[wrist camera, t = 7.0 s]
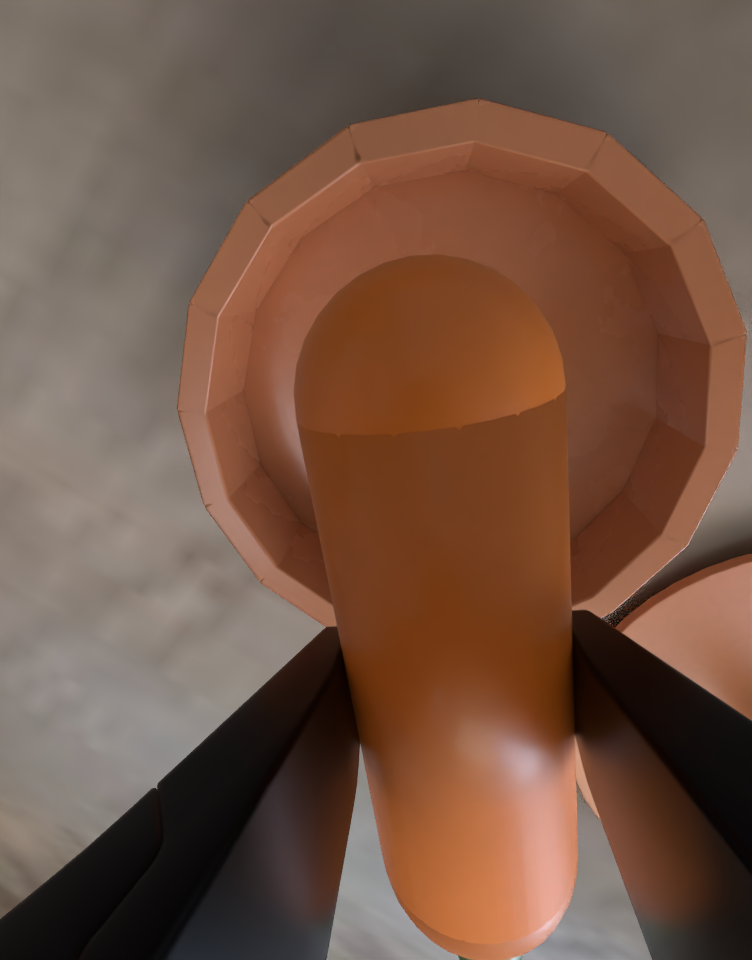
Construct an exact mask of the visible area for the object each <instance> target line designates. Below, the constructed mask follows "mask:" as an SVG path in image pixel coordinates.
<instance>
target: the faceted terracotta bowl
mask: <svg viewBox="0 0 752 960" xmlns="http://www.w3.org/2000/svg"><path fill="white" fill-rule="evenodd" d="M701 219H702V218H701V216H699V215H698V214H697V213H696V212H695V211H694V210H693V209H692V208H691V207H690V206H688V205H687V204H686V203H685V202H684V201H683V200H682V199H681V198H680V197H678V196H677V195H676V194H675V193H674V192H673V191H672V190H671V189H670V188H668V187H667V186H666V185H665V184H664V183H663V182H662V181H661V180H660V179H658V178H657V177H656V176H655V175H654V174H653V173H652V172H651V171H650V170H648V169H647V168H646V167H645V166H644V165H643V164H642V163H641V162H640V161H639V160H637V159H636V158H635V157H634V156H633V155H632V154H631V153H630V152H629V151H627V150H626V149H625V148H624V147H623V146H622V145H621V144H620V143H619V142H617V141H616V140H615V139H614V138H613V137H612V136H611V135H610V134H606V132H605V131H602V130H598V129H594V128H591V127H587V126H583V125H579V124H575V123H572V122H568V121H564V120H560V119H556V118H553V117H549V116H545V115H541V114H538V113H534V112H530V111H526V110H522V109H519V108H515V107H511V106H507V105H503V104H500V103H496V102H492V101H488V100H485V99H476V98H475V99H470V100H465V101H461V102H456V103H451V104H446V105H441V106H436V107H431V108H426V109H422V110H417V111H412V112H407V113H402V114H397V115H392V116H387V117H383V118H378V119H373V120H368V121H363V122H358V123H353V124H350V125H349V127H345V128H344V129H342V130H341V131H340V132H338V133H337V134H336V135H334V136H333V137H332V138H330V139H329V140H328V141H326V142H325V143H323V144H322V145H321V146H319V147H318V148H317V149H315V150H314V151H313V152H311V153H310V154H309V155H307V156H306V157H305V158H303V159H302V160H301V161H299V162H298V163H297V164H295V165H294V166H293V167H291V168H290V169H289V170H287V171H286V172H285V173H283V174H282V175H281V176H279V177H278V178H277V179H275V180H274V181H272V182H271V183H270V184H268V185H267V186H266V187H264V188H263V189H262V190H260V191H259V192H258V193H256V194H255V195H254V196H252V197H251V198H250V199H249V201H248V202H245V204H244V206H243V207H242V209H241V211H240V213H239V215H238V216H237V218H236V220H235V222H234V223H233V225H232V227H231V229H230V231H229V232H228V234H227V236H226V238H225V239H224V241H223V243H222V245H221V247H220V248H219V250H218V252H217V254H216V255H215V257H214V259H213V261H212V263H211V264H210V266H209V268H208V270H207V271H206V273H205V275H204V277H203V279H202V280H201V282H200V284H199V286H198V287H197V289H196V291H195V293H194V295H193V296H192V298H191V300H190V304H189V306H188V315H187V324H186V333H185V342H184V351H183V360H182V369H181V378H180V387H179V396H178V405H177V410H178V414H179V418H180V422H181V425H182V429H183V432H184V436H185V440H186V443H187V447H188V450H189V454H190V458H191V461H192V465H193V468H194V472H195V476H196V479H197V483H198V486H199V490H200V494H201V497H202V501H203V504H204V505H206V506H205V508H206V510H207V511H208V512H209V514H210V515H211V516H212V518H213V519H214V520H215V522H216V523H217V524H218V526H219V527H220V529H221V530H222V531H223V533H224V534H225V535H226V537H227V538H228V539H229V541H230V542H231V544H232V545H233V546H234V548H235V549H236V550H237V552H238V553H239V554H240V556H241V557H242V558H243V560H244V561H245V563H246V564H247V565H248V567H249V568H250V569H251V571H252V572H253V573H254V575H255V576H256V577H257V579H258V580H259V581H261V582H260V583H261V584H263V585H264V586H266V587H267V588H269V589H270V590H272V591H273V592H275V593H276V594H278V595H279V596H281V597H282V598H284V599H285V600H287V601H288V602H290V603H291V604H293V605H294V606H296V607H297V608H298V609H300V610H301V611H303V612H304V613H306V614H307V615H309V616H310V617H312V618H313V619H315V620H316V621H318V622H319V623H321V624H322V625H324V626H325V627H330V626H337V623H336V618H335V613H334V608H333V603H332V598H331V593H330V588H329V583H328V578H327V573H326V568H325V563H324V558H323V553H322V548H321V543H320V538H319V533H318V528H317V523H316V518H315V513H314V508H313V503H312V498H311V493H310V488H309V483H308V478H307V473H306V468H305V463H304V458H303V453H302V448H301V443H300V437H299V432H298V427H297V422H296V412H295V402H294V383H295V374H296V365H297V362H298V359H299V355H300V352H301V349H302V346H303V342H304V339H305V337H306V336H307V334H308V332H309V330H310V328H311V326H312V325H313V323H314V321H315V319H316V317H317V315H318V314H319V313H320V312H321V310H322V309H323V308H324V307H325V306H326V304H327V303H328V302H329V301H330V300H331V299H332V297H333V296H334V295H335V294H336V293H337V292H338V291H339V290H341V289H342V288H343V287H344V286H346V285H347V284H348V283H350V282H351V281H352V280H353V279H355V278H356V277H357V276H358V275H360V274H362V273H364V272H366V271H368V270H370V269H372V268H374V267H376V266H378V265H380V264H382V263H385V262H389V261H393V260H396V259H400V258H404V257H408V256H416V255H432V254H440V255H447V256H453V257H460V258H466V259H469V260H471V261H474V262H476V263H479V264H482V265H484V266H487V267H489V268H492V269H494V270H495V271H497V272H498V273H500V274H501V275H503V276H504V277H506V278H507V279H509V280H510V281H512V282H513V283H515V284H517V285H518V286H519V287H520V288H521V289H522V290H523V291H524V292H525V293H526V295H527V296H528V297H529V298H530V299H531V300H532V301H533V302H534V303H535V304H536V305H537V306H538V307H539V309H540V311H541V312H542V314H543V316H544V317H545V319H546V320H547V322H548V324H549V325H550V327H551V328H552V330H553V332H554V335H555V338H556V341H557V344H558V346H559V349H560V352H561V355H562V358H563V366H564V373H565V381H566V406H567V445H568V484H569V522H570V561H571V600H572V610H588V611H590V612H592V613H593V614H595V615H596V616H598V617H599V618H602V617H605V616H607V615H608V613H609V614H611V613H612V612H614V611H615V610H616V609H617V608H618V607H619V606H620V605H622V604H623V603H624V602H625V601H626V600H627V599H628V598H629V597H631V596H632V595H633V594H634V593H635V592H636V591H637V590H638V589H640V588H641V587H642V586H643V585H644V584H645V583H646V582H647V581H649V580H650V579H651V578H652V577H653V576H654V575H655V574H657V573H658V572H659V571H660V570H661V569H662V568H663V567H664V566H666V565H667V564H668V563H669V562H670V561H671V560H672V559H673V558H675V557H676V556H677V555H678V554H679V553H680V552H681V551H683V550H684V549H685V548H686V546H688V545H689V543H690V541H691V539H692V537H693V535H694V533H695V531H696V529H697V527H698V525H699V523H700V522H701V520H702V518H703V516H704V514H705V512H706V510H707V508H708V506H709V504H710V502H711V500H712V498H713V497H714V495H715V493H716V491H717V489H718V487H719V485H720V483H721V481H722V479H723V477H724V475H725V474H726V472H727V470H728V468H729V466H730V464H731V462H732V460H733V458H734V456H735V454H736V452H737V449H736V448H738V441H739V428H740V415H741V402H742V389H743V376H744V363H745V351H746V338H747V336H746V333H747V331H746V329H745V326H744V324H743V321H742V318H741V316H740V313H739V310H738V308H737V305H736V303H735V300H734V297H733V295H732V292H731V290H730V287H729V284H728V282H727V279H726V277H725V274H724V271H723V269H722V266H721V263H720V261H719V258H718V256H717V253H716V250H715V248H714V245H713V243H712V240H711V237H710V235H709V232H708V229H707V227H706V224H705V222H704V220H703V219H702V220H701Z"/></svg>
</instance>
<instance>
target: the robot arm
mask: <svg viewBox="0 0 752 960" xmlns="http://www.w3.org/2000/svg"><path fill="white" fill-rule="evenodd" d="M572 639H573V642H572V646H573V685H574V724H575V737H576V741H577V745H578V749H579V753H580V758H581V761H582V765H583V769H584V772H585V776H586V780H587V783H588V786H589V788H590V791H591V794H592V797H593V800H594V803H595V806H596V808H597V811H598V814H599V816H600V819H601V822H602V825H603V827H604V830H605V833H606V835H607V838H608V841H609V844H610V846H611V849H612V852H613V854H614V857H615V860H616V863H617V865H618V868H619V871H620V873H621V876H622V879H623V881H624V884H625V887H626V890H627V892H628V895H629V898H630V900H631V903H632V906H633V909H634V911H635V914H636V917H637V919H638V922H639V925H640V928H641V930H642V933H643V936H644V938H645V941H646V944H647V947H648V949H649V952H650V955H651V957H652V960H752V720H750V719H749V718H747V717H746V716H744V715H743V714H741V713H740V712H738V711H737V710H735V709H734V708H732V707H731V706H730V705H728V704H727V703H725V702H724V701H722V700H721V699H719V698H718V697H716V696H715V695H713V694H712V693H710V692H709V691H707V690H706V689H704V688H703V687H701V686H700V685H698V684H697V683H695V682H694V681H693V680H691V679H690V678H688V677H687V676H685V675H684V674H682V673H681V672H679V671H678V670H676V669H675V668H673V667H672V666H670V665H669V664H667V663H666V662H664V661H663V660H661V659H660V658H659V657H657V656H656V655H654V654H653V653H651V652H650V651H648V650H647V649H645V648H644V647H642V646H641V645H639V644H638V643H636V642H635V641H633V640H632V639H630V638H629V637H627V636H626V635H625V634H623V633H622V632H620V631H619V630H617V629H616V628H614V627H613V626H611V625H610V624H608V623H607V622H605V621H604V620H602V619H601V618H599V617H598V616H596V615H595V614H593V613H592V612H590V611H588V610H572ZM359 749H360V739H359V734H358V729H357V724H356V719H355V714H354V709H353V704H352V699H351V694H350V688H349V683H348V678H347V673H346V668H345V663H344V658H343V654H342V649H341V644H340V638H339V633H338V628H337V626H330V627H326V628H325V629H324V630H322V631H321V632H320V633H319V634H318V635H317V636H316V637H315V638H314V639H313V640H312V641H311V642H310V643H308V644H307V645H306V646H305V647H304V648H303V649H302V650H301V651H300V652H299V653H298V654H297V655H296V656H294V657H293V658H292V659H291V660H290V661H289V662H288V663H287V664H286V665H285V666H284V667H283V668H282V669H280V670H279V671H278V672H277V673H276V674H275V675H274V676H273V677H272V678H271V679H270V680H269V681H267V682H266V683H265V684H264V685H263V686H262V687H261V688H260V689H259V690H258V691H257V692H256V693H255V694H253V695H252V696H251V697H250V698H249V699H248V700H247V701H246V702H245V703H244V704H243V705H242V706H241V707H239V708H238V709H237V710H236V711H235V712H234V713H233V714H232V715H231V716H230V717H229V718H228V719H227V720H225V721H224V722H223V723H222V724H221V725H220V726H219V727H218V728H217V729H216V730H215V731H214V732H213V733H211V734H210V735H209V736H208V737H207V738H206V739H205V740H204V741H203V742H202V743H201V744H200V745H199V746H197V747H196V748H195V749H194V750H193V751H192V752H191V753H190V754H189V755H188V756H187V757H186V758H185V759H183V760H182V761H181V762H180V763H179V764H178V765H177V766H176V767H175V768H174V769H173V770H172V771H171V772H169V773H168V774H167V775H166V776H165V777H164V778H163V779H162V780H161V781H160V782H159V783H158V785H157V789H156V788H152V789H151V790H150V791H149V792H148V793H147V794H145V795H144V796H143V797H142V798H141V799H140V800H139V801H138V802H137V803H136V804H135V805H134V806H133V807H131V808H130V809H129V810H128V811H127V812H126V813H125V814H124V815H123V816H122V817H120V818H119V819H118V820H117V821H116V822H115V823H114V824H113V825H111V826H110V827H109V828H108V829H107V830H106V831H105V832H104V833H103V834H101V835H100V836H99V837H98V838H97V839H96V840H95V841H94V842H92V843H91V844H90V845H89V846H88V847H87V848H86V849H85V850H83V851H82V852H81V853H80V854H79V855H77V856H76V857H75V858H74V859H73V860H71V861H70V862H69V863H68V864H67V865H65V866H64V867H63V868H62V869H61V870H59V871H58V872H57V873H56V874H55V875H53V876H52V877H51V878H50V879H49V880H47V881H46V882H45V883H44V884H43V885H41V886H40V887H39V888H38V889H37V890H35V891H34V892H33V893H32V894H31V895H29V896H28V897H27V898H26V899H24V900H23V901H22V902H21V903H20V904H18V905H17V906H16V907H15V908H13V909H12V910H11V911H10V912H8V913H7V914H6V915H5V916H3V917H2V918H1V919H0V960H326V959H327V953H328V947H329V942H330V936H331V930H332V925H333V919H334V914H335V908H336V902H337V897H338V891H339V886H340V880H341V874H342V869H343V863H344V857H345V852H346V846H347V841H348V835H349V829H350V824H351V818H352V812H353V807H354V801H355V794H356V787H357V777H358V765H359Z"/></svg>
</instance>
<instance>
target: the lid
mask: <svg viewBox="0 0 752 960" xmlns="http://www.w3.org/2000/svg"><path fill="white" fill-rule="evenodd" d="M615 628H616V629H617V630H619V631H620V632H622V633H623V634H625V635H626V636H627V637H629V638H630V639H632V640H633V641H635V642H636V643H638V644H639V645H641V646H642V647H644V648H645V649H647V650H648V651H650V652H651V653H653V654H654V655H656V656H657V657H659V658H660V659H661V660H663V661H664V662H666V663H667V664H669V665H670V666H672V667H673V668H675V669H676V670H678V671H679V672H681V673H682V674H684V675H685V676H687V677H688V678H690V679H691V680H693V681H694V682H695V683H697V684H698V685H700V686H701V687H703V688H704V689H706V690H707V691H709V692H710V693H712V694H713V695H715V696H716V697H718V698H719V699H721V700H722V701H724V702H725V703H727V704H728V705H730V706H731V707H732V708H734V709H735V710H737V711H738V712H740V713H741V714H743V715H744V716H746V717H747V718H749V719H750V720H752V553H751V554H747V555H743V556H739V557H735V558H733V559H730V560H727V561H724V562H721V563H718V564H716V565H713V566H710V567H707V568H705V569H702V570H700V571H698V572H696V573H694V574H692V575H690V576H688V577H685V578H683V579H681V580H679V581H677V582H675V583H674V584H672V585H670V586H669V587H667V588H665V589H664V590H662V591H661V592H659V593H657V594H656V595H654V596H652V597H651V598H649V599H648V600H647V601H645V602H644V603H643V604H642V605H640V606H639V607H638V608H636V609H635V610H634V611H633V612H631V613H630V614H629V615H627V616H626V617H625V618H624V619H623V620H622V621H621V622H620V623H619V624H618V625H617V626H616V627H615ZM575 756H576V783H577V785H578V787H579V789H580V791H581V793H582V795H583V797H584V799H585V801H586V802H587V804H588V805H589V806H590V808H591V809H592V810H593V812H594V813H595V814H596V816H597V817H598V818H599V819H600V816H599V814H598V811H597V808H596V806H595V803H594V800H593V797H592V794H591V791H590V788H589V786H588V783H587V780H586V776H585V772H584V769H583V765H582V761H581V758H580V753H579V749H578V745H577V741H576V737H575ZM600 820H601V819H600Z"/></svg>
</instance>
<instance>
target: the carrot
mask: <svg viewBox="0 0 752 960" xmlns="http://www.w3.org/2000/svg"><path fill="white" fill-rule="evenodd" d="M294 402H295V412H296V422H297V427H298V432H299V437H300V443H301V448H302V453H303V458H304V463H305V468H306V473H307V478H308V483H309V488H310V493H311V498H312V503H313V508H314V513H315V518H316V523H317V528H318V533H319V538H320V543H321V548H322V553H323V558H324V563H325V568H326V573H327V578H328V583H329V588H330V593H331V598H332V603H333V608H334V613H335V618H336V623H337V628H338V633H339V638H340V644H341V649H342V654H343V658H344V663H345V668H346V673H347V678H348V683H349V688H350V694H351V699H352V704H353V709H354V714H355V719H356V724H357V729H358V734H359V739H360V744H361V749H362V754H363V759H364V764H365V769H366V774H367V779H368V784H369V789H370V794H371V799H372V804H373V809H374V814H375V819H376V824H377V829H378V834H379V839H380V845H381V850H382V855H383V860H384V864H385V867H386V871H387V874H388V877H389V880H390V883H391V886H392V888H393V890H394V892H395V895H396V897H397V899H398V901H399V903H400V905H401V906H402V908H403V909H404V910H405V912H406V913H407V915H408V916H409V917H410V919H411V920H412V921H413V923H414V924H415V925H416V926H417V928H418V929H419V930H421V931H422V932H423V933H424V934H425V935H426V936H427V937H428V938H429V939H430V940H431V941H432V942H434V943H435V944H437V945H439V946H440V947H442V948H443V949H445V950H447V951H448V952H450V953H453V954H456V955H458V957H459V959H460V960H521V959H522V955H523V954H526V953H528V952H529V951H531V950H532V949H534V948H535V947H537V946H538V945H540V944H541V943H543V942H544V941H545V940H546V938H547V937H548V936H549V935H550V934H551V933H552V932H553V931H554V930H555V929H556V927H557V925H558V923H559V922H560V920H561V918H562V916H563V915H564V913H565V911H566V909H567V907H568V906H569V904H570V901H571V897H572V894H573V890H574V887H575V882H576V875H577V865H578V833H577V795H576V756H575V724H574V685H573V646H572V642H573V639H572V600H571V561H570V522H569V484H568V445H567V406H566V381H565V373H564V366H563V358H562V355H561V352H560V349H559V346H558V344H557V341H556V338H555V335H554V332H553V330H552V328H551V327H550V325H549V324H548V322H547V320H546V319H545V317H544V316H543V314H542V312H541V311H540V309H539V307H538V306H537V305H536V304H535V303H534V302H533V301H532V300H531V299H530V298H529V297H528V296H527V295H526V293H525V292H524V291H523V290H522V289H521V288H520V287H519V286H518V285H517V284H515V283H513V282H512V281H510V280H509V279H507V278H506V277H504V276H503V275H501V274H500V273H498V272H497V271H495V270H494V269H492V268H489V267H487V266H484V265H482V264H479V263H476V262H474V261H471V260H469V259H466V258H460V257H453V256H447V255H440V254H432V255H416V256H408V257H404V258H400V259H396V260H393V261H389V262H385V263H382V264H380V265H378V266H376V267H374V268H372V269H370V270H368V271H366V272H364V273H362V274H360V275H358V276H357V277H356V278H355V279H353V280H352V281H351V282H350V283H348V284H347V285H346V286H344V287H343V288H342V289H341V290H339V291H338V292H337V293H336V294H335V295H334V296H333V297H332V299H331V300H330V301H329V302H328V303H327V304H326V306H325V307H324V308H323V309H322V310H321V312H320V313H319V314H318V315H317V317H316V319H315V321H314V323H313V325H312V326H311V328H310V330H309V332H308V334H307V336H306V337H305V339H304V342H303V346H302V349H301V352H300V355H299V359H298V362H297V365H296V374H295V383H294Z"/></svg>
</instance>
